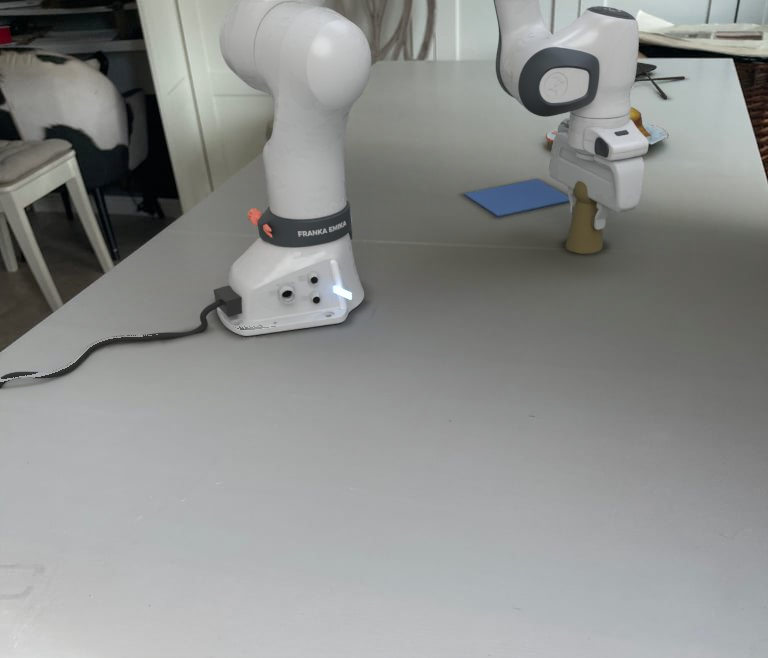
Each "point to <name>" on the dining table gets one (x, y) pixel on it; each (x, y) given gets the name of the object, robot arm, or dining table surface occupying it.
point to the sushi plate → (646, 68)
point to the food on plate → (647, 130)
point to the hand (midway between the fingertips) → (587, 221)
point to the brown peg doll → (584, 224)
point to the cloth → (517, 197)
